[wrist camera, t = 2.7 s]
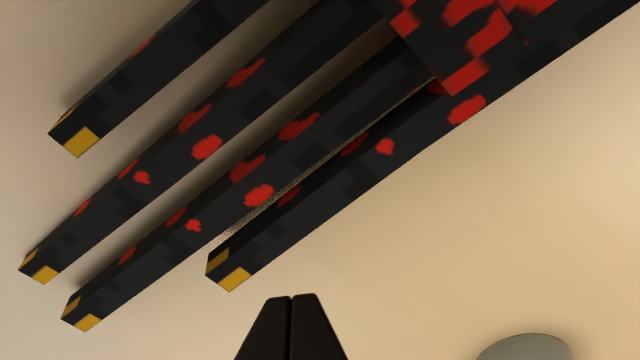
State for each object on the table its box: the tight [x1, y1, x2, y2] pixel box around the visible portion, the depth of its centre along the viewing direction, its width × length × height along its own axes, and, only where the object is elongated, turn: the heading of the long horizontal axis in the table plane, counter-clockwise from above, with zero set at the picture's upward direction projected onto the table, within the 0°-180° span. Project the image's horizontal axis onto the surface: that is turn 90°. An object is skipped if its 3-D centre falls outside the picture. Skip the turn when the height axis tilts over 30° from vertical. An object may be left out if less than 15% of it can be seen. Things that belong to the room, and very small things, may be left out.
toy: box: [18, 0, 640, 332], centre depth 17 cm, size 8×5×30 cm
